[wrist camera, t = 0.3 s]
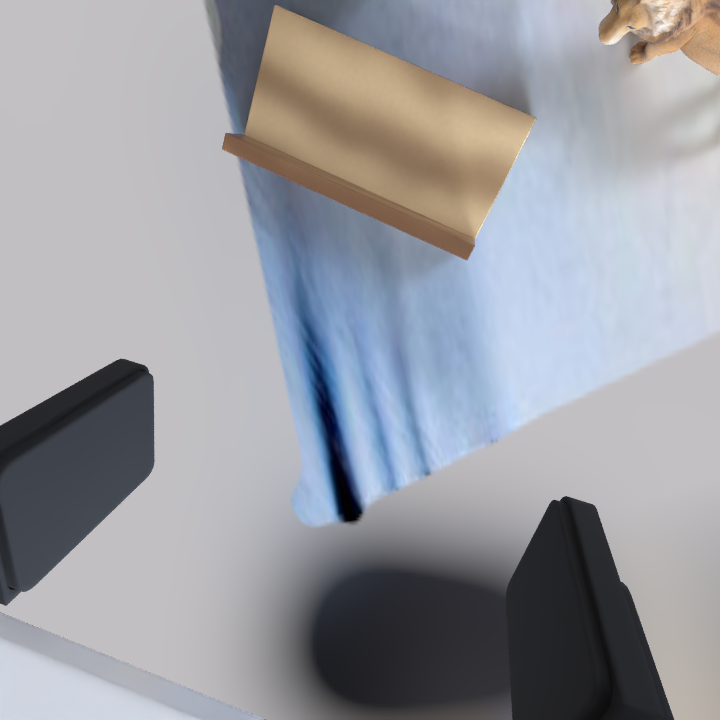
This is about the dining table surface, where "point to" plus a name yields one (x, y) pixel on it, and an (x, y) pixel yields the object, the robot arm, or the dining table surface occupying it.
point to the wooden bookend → (378, 133)
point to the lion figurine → (667, 29)
